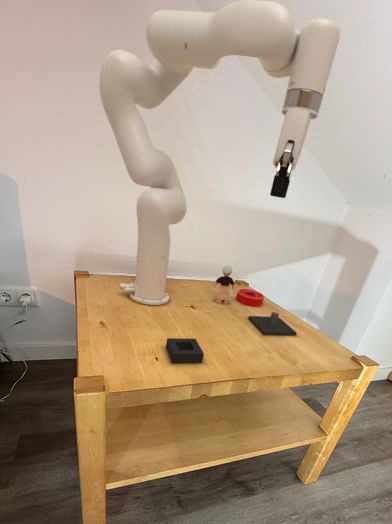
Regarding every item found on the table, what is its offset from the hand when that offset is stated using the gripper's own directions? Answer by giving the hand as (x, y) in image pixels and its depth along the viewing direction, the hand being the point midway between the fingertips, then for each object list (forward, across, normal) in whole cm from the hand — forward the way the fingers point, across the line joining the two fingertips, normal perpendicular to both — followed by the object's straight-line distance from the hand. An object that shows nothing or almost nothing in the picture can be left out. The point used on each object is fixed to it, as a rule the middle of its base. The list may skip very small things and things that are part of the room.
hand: (277, 196), depth 71 cm
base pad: (+35, -6, +8) cm, 36 cm away
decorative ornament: (+35, -25, -2) cm, 43 cm away
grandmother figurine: (+35, -17, -11) cm, 41 cm away
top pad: (+35, +24, -11) cm, 44 cm away
